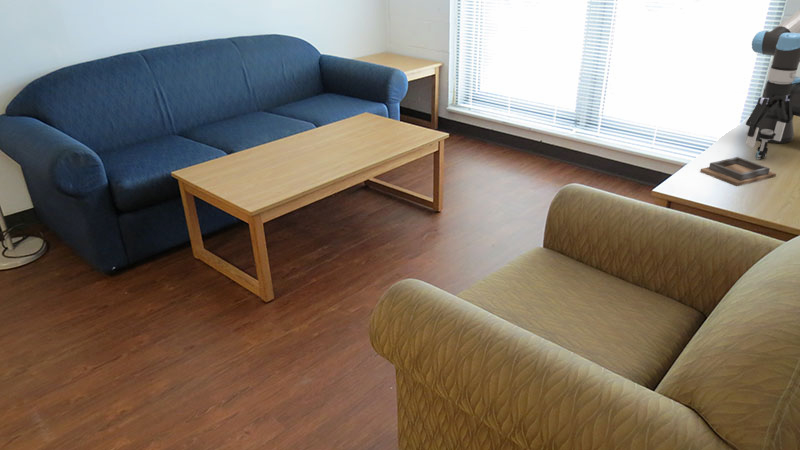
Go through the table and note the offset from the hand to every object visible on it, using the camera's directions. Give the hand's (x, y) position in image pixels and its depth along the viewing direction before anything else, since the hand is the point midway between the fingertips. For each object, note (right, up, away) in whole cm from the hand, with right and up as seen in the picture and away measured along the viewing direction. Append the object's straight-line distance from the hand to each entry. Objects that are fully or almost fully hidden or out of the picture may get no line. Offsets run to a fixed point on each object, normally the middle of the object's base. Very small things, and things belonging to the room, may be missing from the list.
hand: (763, 142), depth 208 cm
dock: (-15, -12, -10) cm, 22 cm away
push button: (0, -5, +3) cm, 6 cm away
